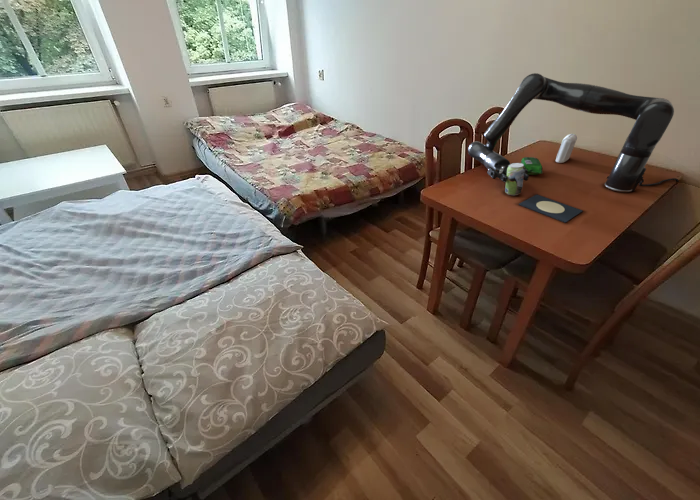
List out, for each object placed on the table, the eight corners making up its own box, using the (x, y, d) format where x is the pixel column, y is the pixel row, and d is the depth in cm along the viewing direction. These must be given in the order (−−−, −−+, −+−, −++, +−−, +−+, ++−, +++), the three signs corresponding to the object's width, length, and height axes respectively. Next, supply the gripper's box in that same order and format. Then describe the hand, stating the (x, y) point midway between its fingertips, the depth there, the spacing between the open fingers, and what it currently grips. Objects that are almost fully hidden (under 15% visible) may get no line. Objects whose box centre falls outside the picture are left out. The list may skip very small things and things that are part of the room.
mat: (518, 204, 122) (518, 203, 121) (536, 195, 128) (536, 194, 128) (565, 223, 111) (565, 221, 110) (582, 211, 117) (583, 210, 117)
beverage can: (522, 197, 126) (531, 168, 119) (502, 196, 128) (510, 166, 121) (518, 190, 131) (527, 162, 124) (499, 189, 133) (507, 160, 126)
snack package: (523, 177, 142) (527, 166, 139) (518, 164, 154) (521, 154, 151) (541, 179, 140) (545, 168, 137) (534, 166, 152) (538, 155, 149)
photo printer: (560, 156, 163) (570, 131, 155) (570, 158, 160) (580, 132, 153) (553, 161, 157) (562, 135, 150) (563, 164, 154) (573, 137, 147)
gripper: (482, 156, 135) (501, 170, 122) (514, 154, 136) (537, 168, 123) (478, 173, 139) (496, 189, 126) (509, 171, 141) (531, 187, 128)
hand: (516, 179), depth 125 cm, fingers open, 8 cm apart
